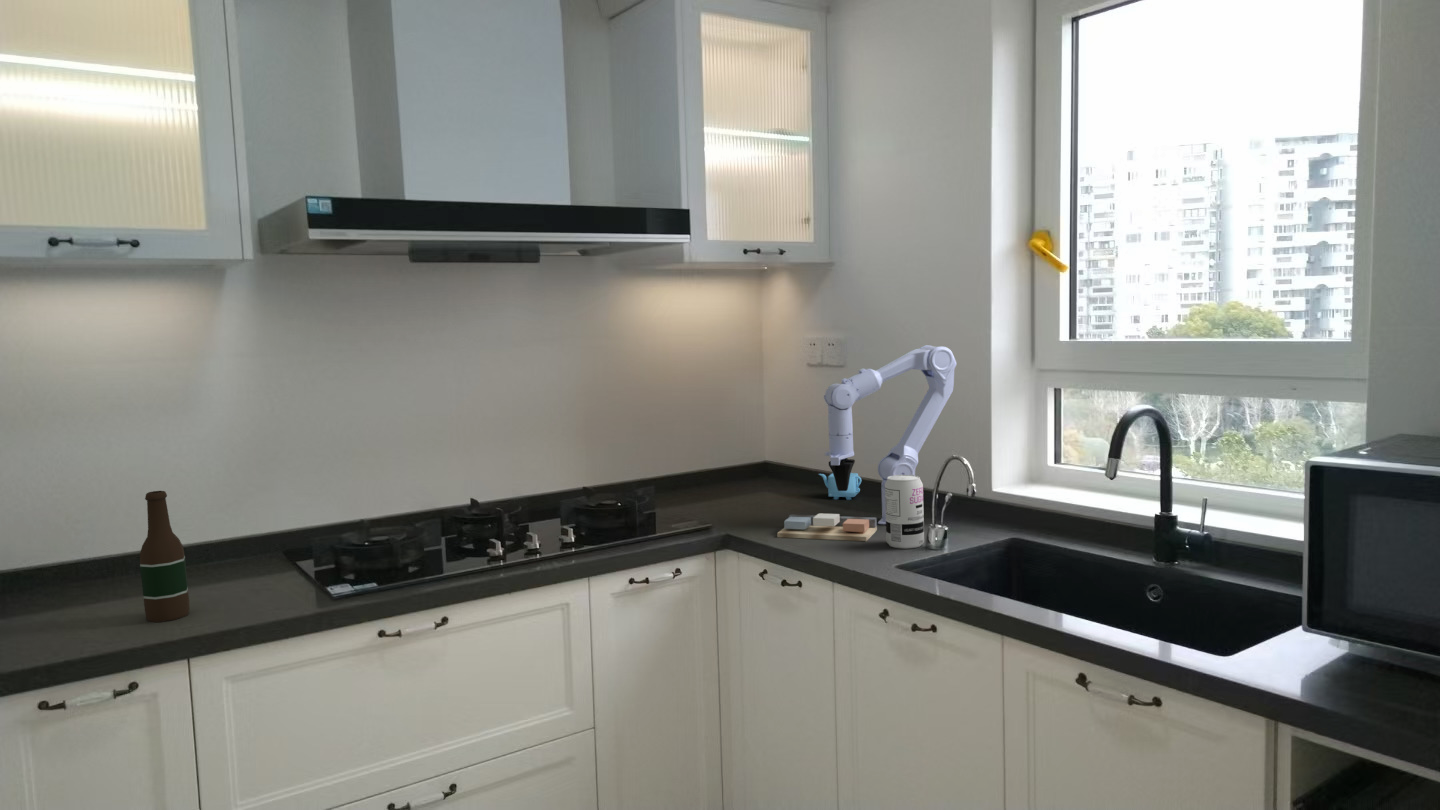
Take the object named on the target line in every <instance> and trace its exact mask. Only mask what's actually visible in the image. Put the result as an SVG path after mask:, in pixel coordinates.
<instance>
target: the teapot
mask: <svg viewBox="0 0 1440 810" xmlns="http://www.w3.org/2000/svg"><path fill="white" fill-rule="evenodd" d="M818 475H819V476H821V478H822V479H823V483H824V484H825V487H826V489H827V490H828V493H827V494H828V497H830V498H831V497H833V498H832V500H839V499H840V498H841V497H842V498H845V499H846V501H850V500H852V498H855V497H856V496H857V495H859V493H860V491H861V488H860V485H861V483H862V481H863V480H862V477H860V476H859V473H857V472H851V474H850V479H849V485H848V489H847V491H838V489H837V486H836V482H835V478H834V475H833V472H832V473H830V474H829V475H828V476H826V474H824V473H818Z"/></svg>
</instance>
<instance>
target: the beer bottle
mask: <svg viewBox="0 0 1440 810" xmlns="http://www.w3.org/2000/svg"><path fill="white" fill-rule="evenodd" d="M167 497H168V494H167V492H166V491H165V490H153V491H149V492H146V493H145V498H144V500H146V505H147V508H146V509H147V510H146V511H147V536H146V537H145V539H144V542H143V544H142V545H141V548H140V552H139V567H140V579H141V587H142V596H143V597H142V598H143V605H144V615H145V619H146V621H147V622H151V623H152V622H153V623H162V622H163V623H164V622H170V621H176V620H179V619H183V618H184V617H187V616H188V615H189V614H190V613H189V612H190V595H189V586H188V577H187V576H188V573H187V566H186V565H187V564H186V556H185V550H184V545H183V544H182V542H181V540H180V538H179V537H178V536H177V535H176V534H175V533H174V532H173V530H172V529H173V528H172V527H171V522H170V516H169V512H168V511H169V510H168V505H167Z"/></svg>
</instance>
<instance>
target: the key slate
mask: <svg viewBox="0 0 1440 810" xmlns="http://www.w3.org/2000/svg"><path fill="white" fill-rule="evenodd" d="M783 523H784V524H783V525H784V527H783V528H785V529H804V530H805V529H806V528H808V527H809V526H810V525H811V517H789V518H786V519H785V520H784V521H783Z"/></svg>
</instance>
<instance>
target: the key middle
mask: <svg viewBox="0 0 1440 810" xmlns="http://www.w3.org/2000/svg"><path fill="white" fill-rule="evenodd" d="M839 522H840V513H822V512H821V513H817V514H816V516H815V517H814V518H813V526H835V525H836V524H838V523H839Z"/></svg>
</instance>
